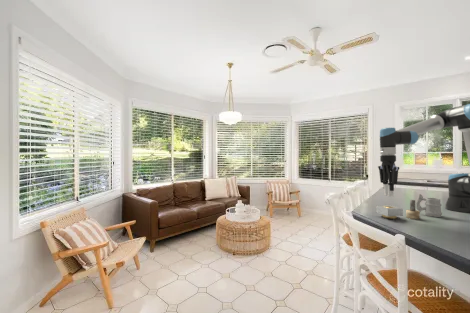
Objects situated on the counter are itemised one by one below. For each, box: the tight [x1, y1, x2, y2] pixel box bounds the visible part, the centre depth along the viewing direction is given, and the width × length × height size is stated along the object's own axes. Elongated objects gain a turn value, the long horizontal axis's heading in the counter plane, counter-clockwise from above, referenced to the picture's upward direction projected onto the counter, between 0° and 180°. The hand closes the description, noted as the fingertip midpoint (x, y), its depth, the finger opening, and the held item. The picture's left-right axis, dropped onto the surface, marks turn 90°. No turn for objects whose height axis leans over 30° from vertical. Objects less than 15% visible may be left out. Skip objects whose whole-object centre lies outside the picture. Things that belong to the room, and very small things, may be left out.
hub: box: [381, 207, 398, 220], centre depth 132 cm, size 7×7×6 cm
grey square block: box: [375, 204, 404, 217], centre depth 132 cm, size 9×9×4 cm
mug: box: [415, 193, 443, 218], centre depth 136 cm, size 8×12×12 cm, turn 44°
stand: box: [405, 199, 421, 220], centre depth 130 cm, size 6×6×10 cm
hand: (388, 195), depth 132 cm, fingers open, 2 cm apart
